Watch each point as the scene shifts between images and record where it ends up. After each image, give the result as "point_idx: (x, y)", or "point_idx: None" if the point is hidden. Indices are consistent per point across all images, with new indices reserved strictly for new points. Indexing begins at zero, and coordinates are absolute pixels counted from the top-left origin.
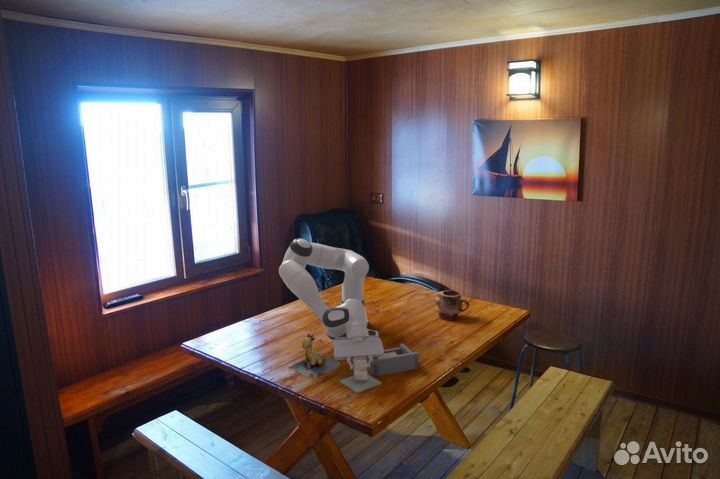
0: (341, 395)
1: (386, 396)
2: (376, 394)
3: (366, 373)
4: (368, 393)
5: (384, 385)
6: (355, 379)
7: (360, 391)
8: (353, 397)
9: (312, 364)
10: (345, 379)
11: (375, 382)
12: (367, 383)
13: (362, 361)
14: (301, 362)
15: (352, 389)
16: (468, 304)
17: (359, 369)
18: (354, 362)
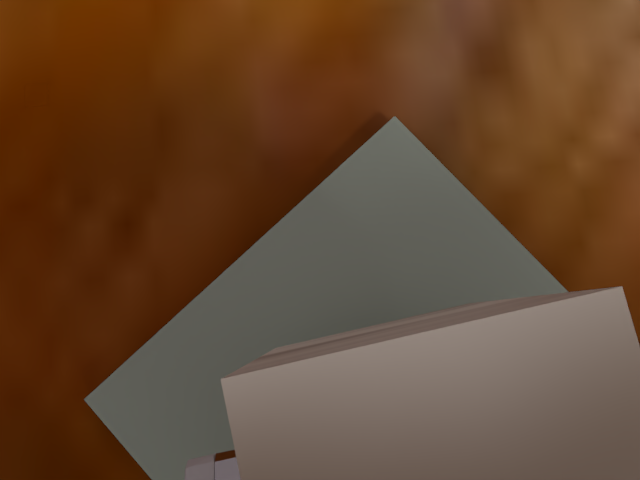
0: (581, 57)
1: (23, 76)
2: (148, 114)
3: (277, 351)
4: (250, 130)
5: (50, 358)
6: (461, 305)
7: (355, 156)
8: (424, 22)
9: None
10: None
11: (168, 397)
12: None
13: (361, 349)
14: None
15: (467, 193)
16: None
17: (420, 321)
18: (606, 291)
